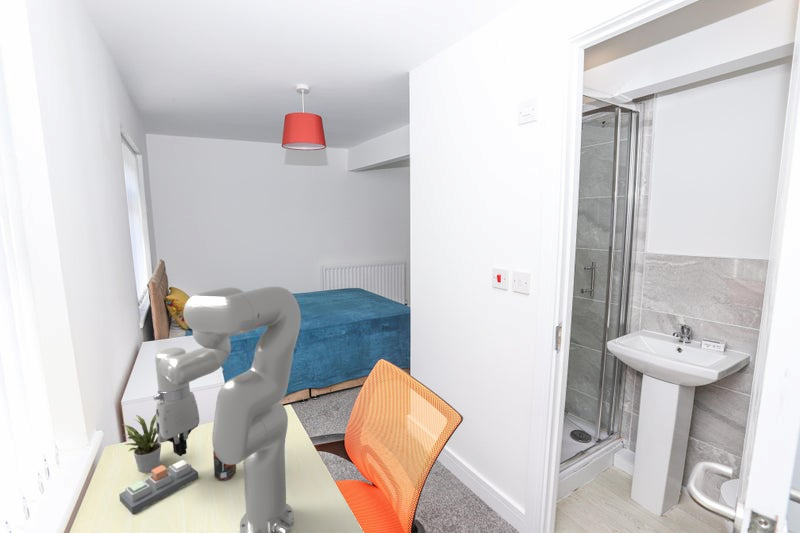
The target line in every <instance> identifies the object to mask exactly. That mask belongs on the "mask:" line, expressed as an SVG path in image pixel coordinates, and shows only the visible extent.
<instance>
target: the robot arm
mask: <svg viewBox="0 0 800 533" xmlns="http://www.w3.org/2000/svg"><path fill="white" fill-rule="evenodd" d="M182 313H183V319H184V322H185V324H186V325H187V327H188V328H189V329H191V330H192V336H193V339H194V341H195V342H196V343H197V344H198V345H199V346H201V348H197V349H194V350H191V351H188V352H186V350H185V349H184V348H182V347H170V348H165V349H162V350H160V351H159V352H157V353H156V354H155V356H154V357H155V358H154V361H155V372H156V380H157V389H158V390H157V394H156V395H153V400H154V401H156V407H155V408H156V409H155V414H156V420H155V428H156V431H157V433H156V435H157V437H158V442H159V443H161V444H162V443H166V442H170V443H172V447H173V454H175V455H177V456H178V457H182V456H184V455H186V454H187V449H188V445H187V444H188V443H187V440H188V438H189V436H190V434H191V433H192V431H193V430H194V429H196V428H197V427H198V426H199V424H200V420H201V419H200V415H199V414H200V413H199V408H198V403H197V400H196V397H195V394H194V392H193V391H191V390H190V382H193V381H195V380H197V379H200V378H202V377H205V376H208V375H210V374H213V373H214V372H216V371H217V370H219V369H220V368H221V367H222V366H223V365H224V363H225V362H226V361H227V360H228V358H229V357H230V355H231V350H232V344H231V340H230V337H231V336H237V335H242V334H245V333H249V332H251V331H255V330H257V329H260V328H263V327H265V329H264V331H263V333H262V334H261V336H260V337H259V339H258V341H257V343H256V346H255V348H254V352H253V353H254V355H253V361H252V365H251V367H249V369H248V370H247V371H245V372H243V373H240V374H238V375H236V376H234V377H232V378H230V379H229V380H227V381H226V382H225V383H224V384H222V386H221V388H220V390H219V391H218V394H217V397H216V403H215V409H214V410H215V412H214V419H213V428H212V449H213V450H214V452H215V454H216V456H217V458H218V459H219V460H220V461H221V462H222V463H224V464H228V465H233V464H236V465H237V464H239V463H242V462H243V478H244V481H243V482H244V493H245V494H244V496H245V497H244V498H245V513H244V514H243V516H242V518H241V520H240V523H239V530H240V531H239V532H240V533H291V529H290V528H292V527H294V525H295V521H294V511H293V508H292V506H290V504H288V503H287V490H286V489H287V487H286V486H287V485H286V455H285V454H286V453H285V451H286V450H285V448H286V439H287V432H288V424H289V423H288V421H289V420H288V419H289V418H288V412H287V409H286V408H285V406H284V405H283V404H282V403H281V402H280V401H281V400H282V399H283V398H284V397H285V396H286V393H287V390H288V386H289V382H290V376H291V370H292V365H293V359H294V352H295V348H296V344H297V340H298V337H299V333H300V330H301V329H300V328H301V322H302V321H301V320H302V319H301V318H302V317H301V310H300V306H299V303H298V301H297V299H296V297H295V296H294V295H293V293H292V292H291V291H290V290H288V289H287V288H285V287H281V286H266V287H260V288H255V289H252V290H248V291H243V290H241V289H240V288H237V287H223V288H217V289H212V290H208V291H203V292H198V293H196V294H193V295H192V296H190V297H189V298H188V300H187V301H186V302H185V304H184V307H183V312H182Z"/></svg>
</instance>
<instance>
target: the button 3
mask: <svg viewBox="0 0 800 533" xmlns="http://www.w3.org/2000/svg"><path fill="white" fill-rule="evenodd" d="M185 461H186V460H185ZM185 461H183V459H181V460H179V461H177V462H176V463H173V464H172V465H173V469H175V470H176V471H178V470H180V469H182V468H184V467H186V466H187V463H186V462H185Z"/></svg>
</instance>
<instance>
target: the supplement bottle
mask: <svg viewBox="0 0 800 533" xmlns="http://www.w3.org/2000/svg"><path fill="white" fill-rule="evenodd" d="M212 454H213V472H214V474H213V475H214V478H215V479H216V480H217V481H227V480H230V479H232V478H233V477H234V476H235V475H236V474H237V464H233V465H228V464H224V463H222V462H221V461H220V460H219V459H218V458H217V456H216V454H215V452H214V449H213V451H212Z"/></svg>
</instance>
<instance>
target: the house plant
mask: <svg viewBox="0 0 800 533" xmlns="http://www.w3.org/2000/svg"><path fill="white" fill-rule="evenodd" d="M135 416H136V417H137V419H134V418H133V420H135V421H136V422H137V423H139V424H140V425H141V428H142V431H143V434H141V433H140V432H138V430H137V429H135V428H134V427H132V426H130V425H127V424H122V426H124V427H125V429H126V431H127V438H126V440H127V439H128V440H129V439H131V440H132V441H134V442H130V443H128V442H127V443H125V444H124V445H127V446H128V445H129V446H134V447H131V448H129V450H128V452H130V451H131V452H132V451H133V456H134V458H135V462H136V465H137V468H138V471H139V473H141V474H146V473H151V470H153V469H155V468H157V467H159V466H160V460H161V451H162V450H161V449H162V443H160V442H158V436H157V437H156V435H157V431H156V427H155V426H154V425H155V424H156V413H155V414H154V416H153V417H152V419H151V422H150V427H149V429H148V427H147V423H146V421H145V419H144V418H142V417H141V416H140V415H138V414H136V415H135ZM122 436H125V434H123V435H122Z"/></svg>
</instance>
